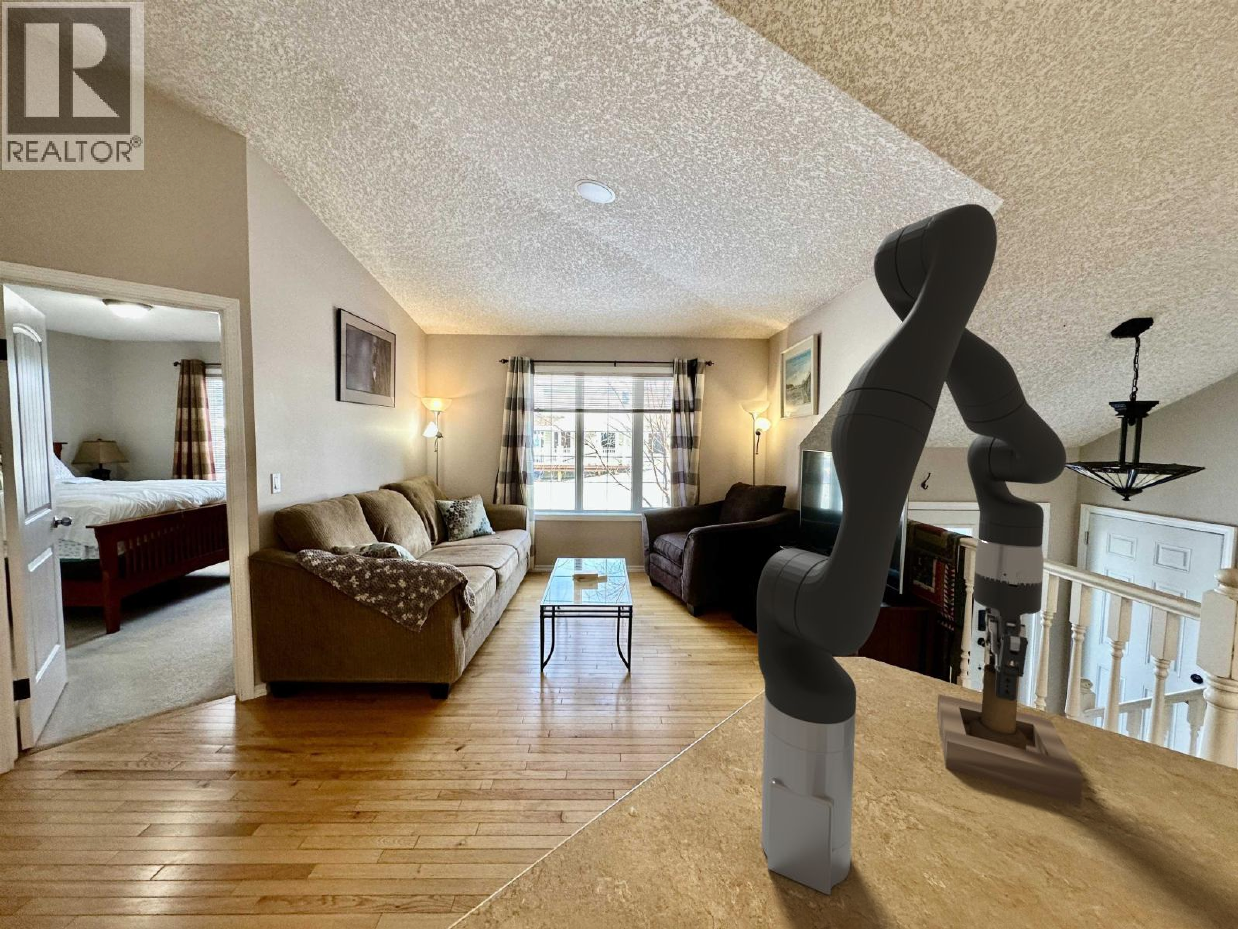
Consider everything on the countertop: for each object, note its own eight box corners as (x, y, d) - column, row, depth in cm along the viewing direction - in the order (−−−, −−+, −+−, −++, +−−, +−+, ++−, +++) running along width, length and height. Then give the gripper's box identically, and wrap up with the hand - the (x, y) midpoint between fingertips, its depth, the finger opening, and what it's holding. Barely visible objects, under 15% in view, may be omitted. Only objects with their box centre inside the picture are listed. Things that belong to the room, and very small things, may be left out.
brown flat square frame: (1080, 810, 60) (1082, 776, 60) (945, 772, 67) (947, 741, 67) (1047, 747, 72) (1049, 719, 72) (936, 720, 79) (938, 694, 79)
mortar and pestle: (1037, 763, 66) (1045, 635, 65) (983, 756, 67) (990, 631, 66) (1008, 734, 72) (1015, 617, 71) (960, 728, 74) (966, 613, 73)
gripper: (967, 558, 76) (962, 663, 77) (983, 582, 64) (976, 707, 65) (1028, 565, 73) (1022, 675, 74) (1057, 591, 60) (1049, 723, 61)
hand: (1001, 689), depth 69 cm, fingers open, 4 cm apart
